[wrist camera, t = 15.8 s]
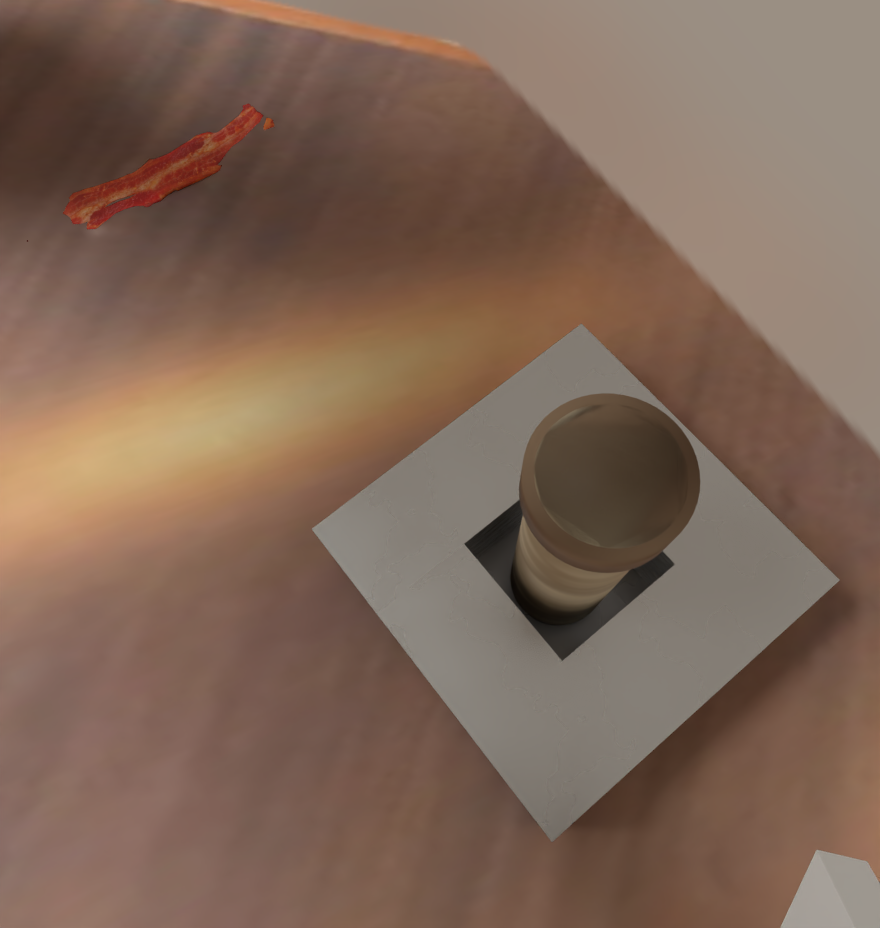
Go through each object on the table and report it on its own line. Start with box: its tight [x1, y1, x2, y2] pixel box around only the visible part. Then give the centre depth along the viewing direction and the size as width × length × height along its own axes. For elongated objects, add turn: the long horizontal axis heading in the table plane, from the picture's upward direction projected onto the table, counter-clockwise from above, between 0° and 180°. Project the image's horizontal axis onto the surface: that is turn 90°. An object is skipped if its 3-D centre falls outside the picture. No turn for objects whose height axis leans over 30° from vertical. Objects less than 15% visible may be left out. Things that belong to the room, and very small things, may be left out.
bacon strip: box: [27, 104, 274, 242], centre depth 42 cm, size 4×15×1 cm, turn 125°
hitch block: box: [312, 324, 839, 842], centre depth 31 cm, size 14×14×5 cm
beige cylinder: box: [510, 393, 700, 625], centre depth 27 cm, size 5×5×14 cm
